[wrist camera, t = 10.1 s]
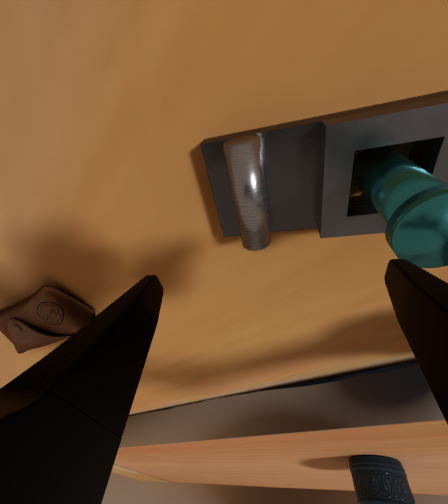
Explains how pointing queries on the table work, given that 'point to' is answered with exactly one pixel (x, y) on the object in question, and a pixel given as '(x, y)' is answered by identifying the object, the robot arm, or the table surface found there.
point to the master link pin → (406, 205)
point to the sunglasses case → (44, 319)
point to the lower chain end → (277, 175)
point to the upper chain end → (371, 136)
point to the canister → (380, 480)
